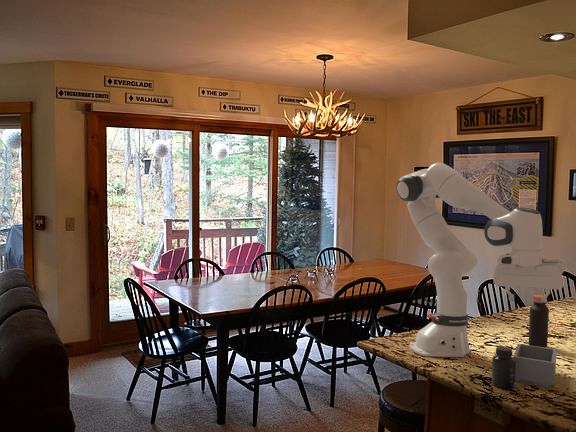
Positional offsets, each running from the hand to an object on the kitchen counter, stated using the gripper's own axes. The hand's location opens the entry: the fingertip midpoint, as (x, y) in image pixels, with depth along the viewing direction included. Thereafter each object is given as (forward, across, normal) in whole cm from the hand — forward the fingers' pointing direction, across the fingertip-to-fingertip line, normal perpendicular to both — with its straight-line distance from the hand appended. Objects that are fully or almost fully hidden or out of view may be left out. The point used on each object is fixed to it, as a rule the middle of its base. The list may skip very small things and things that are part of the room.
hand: (527, 301), depth 165 cm
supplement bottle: (+26, +7, +7) cm, 28 cm away
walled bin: (+27, -2, -7) cm, 28 cm away
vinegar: (+27, -2, -44) cm, 52 cm away
